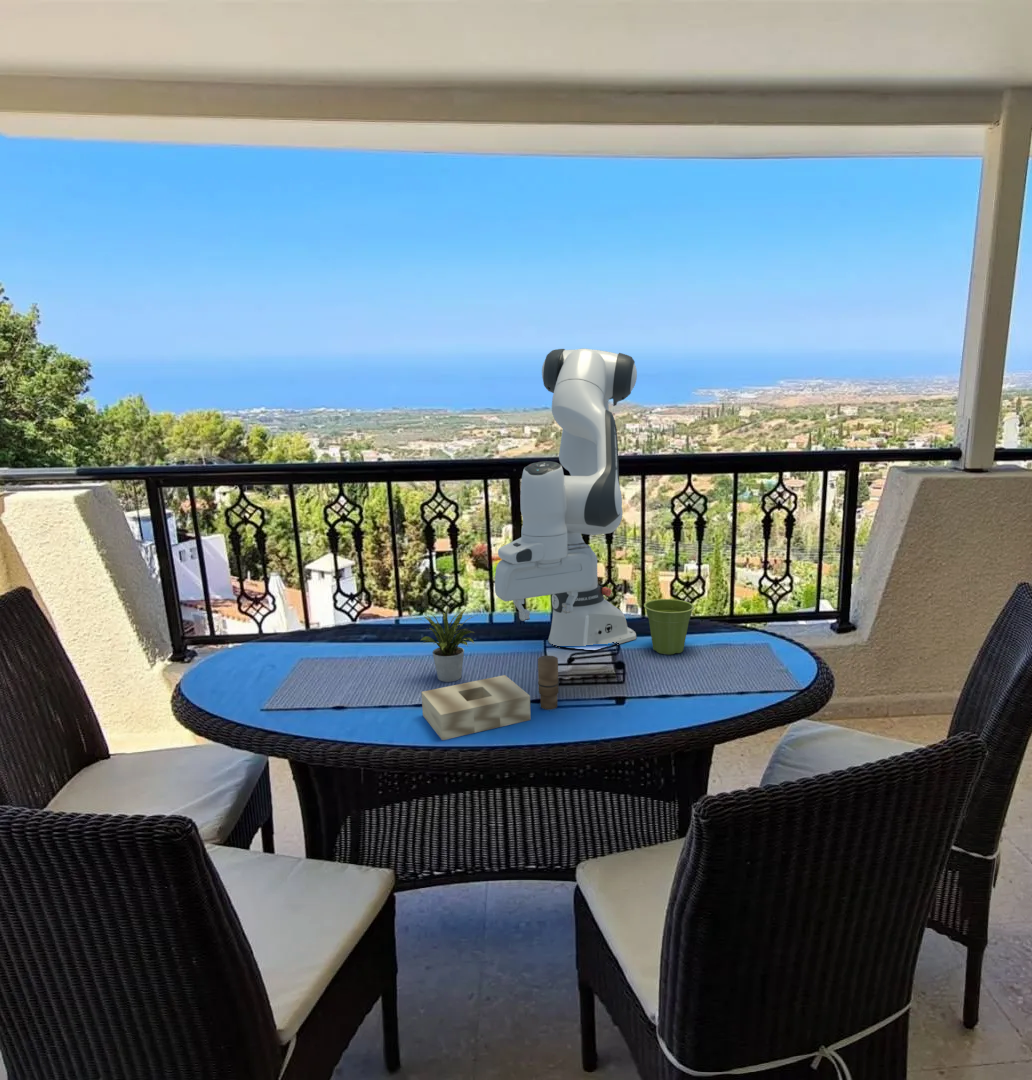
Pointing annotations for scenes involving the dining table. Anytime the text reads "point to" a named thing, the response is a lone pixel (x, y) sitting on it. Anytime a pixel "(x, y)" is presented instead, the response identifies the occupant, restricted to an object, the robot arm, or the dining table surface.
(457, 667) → the house plant
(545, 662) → the peg
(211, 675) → the dining table surface
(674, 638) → the plant pot
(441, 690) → the seat block
